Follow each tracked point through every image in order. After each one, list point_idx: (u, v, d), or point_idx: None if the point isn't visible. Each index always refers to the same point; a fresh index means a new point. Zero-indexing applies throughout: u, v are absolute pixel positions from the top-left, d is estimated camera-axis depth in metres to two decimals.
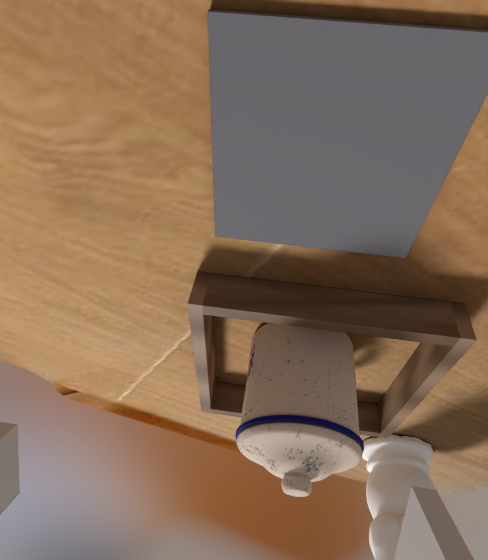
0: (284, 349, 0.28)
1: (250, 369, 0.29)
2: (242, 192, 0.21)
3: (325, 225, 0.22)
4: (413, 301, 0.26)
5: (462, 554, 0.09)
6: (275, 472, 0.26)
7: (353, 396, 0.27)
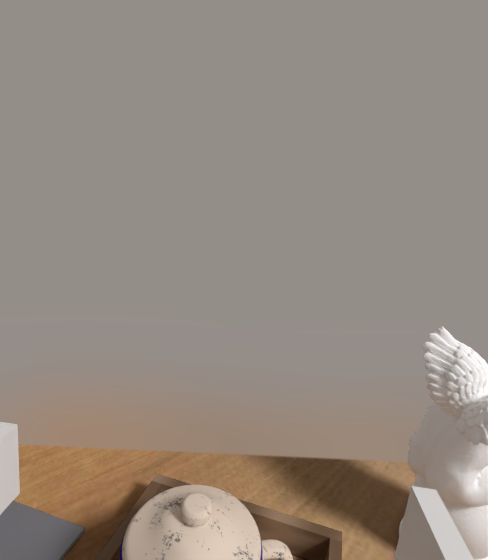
0: None
1: None
2: None
3: None
4: None
5: (462, 554, 0.09)
6: (186, 536, 0.22)
7: None
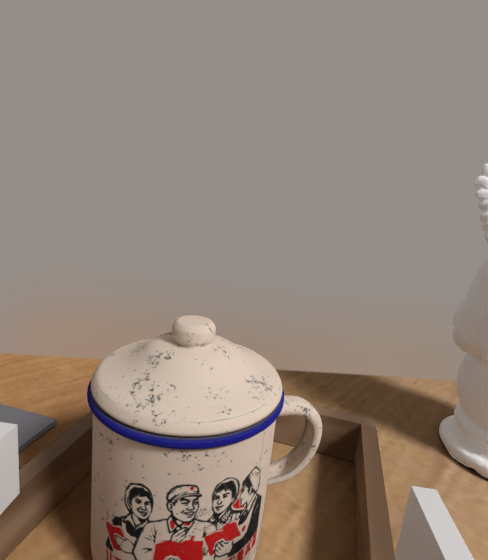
0: None
1: (112, 523, 0.15)
2: None
3: None
4: None
5: (462, 554, 0.09)
6: (180, 354, 0.16)
7: None
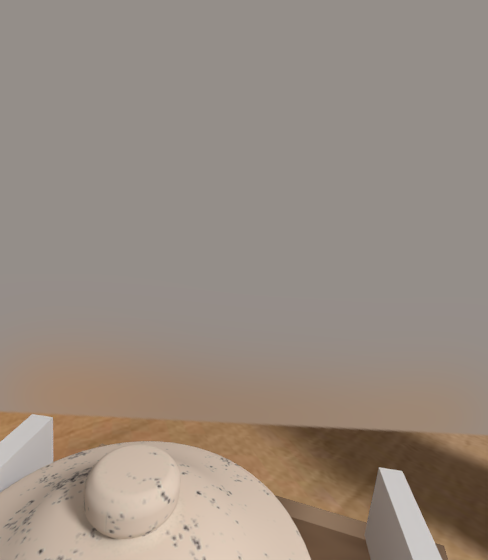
0: None
1: None
2: None
3: None
4: None
5: (419, 527, 0.10)
6: None
7: None
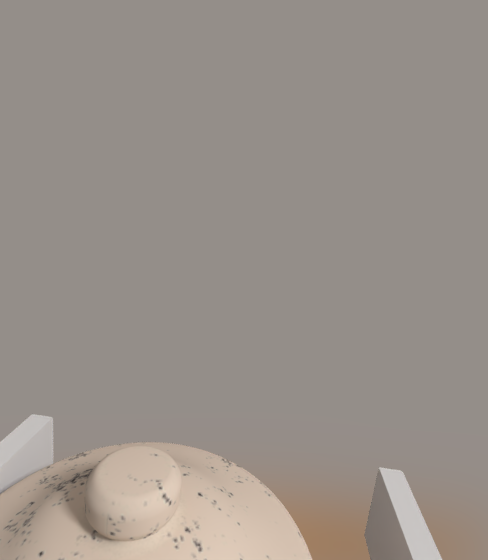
0: None
1: None
2: None
3: None
4: None
5: (419, 527, 0.10)
6: None
7: None
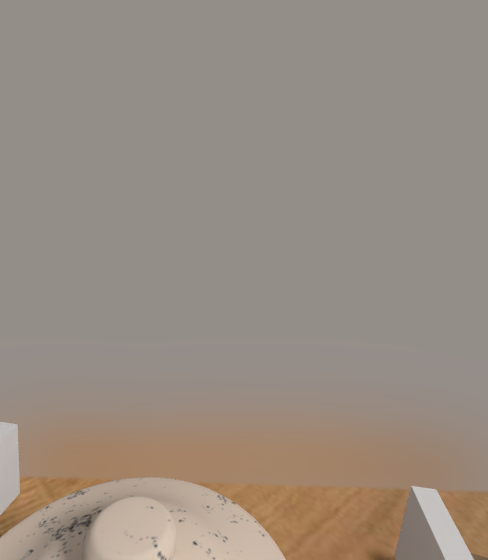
0: None
1: None
2: None
3: None
4: None
5: (462, 554, 0.09)
6: None
7: None
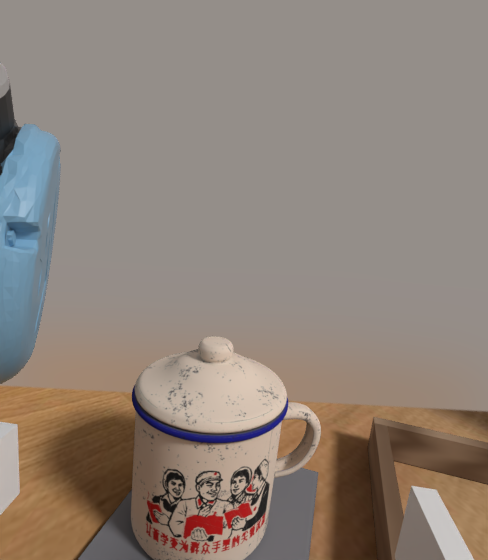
0: None
1: (151, 501, 0.20)
2: None
3: (283, 519, 0.24)
4: (370, 470, 0.29)
5: (462, 554, 0.09)
6: (205, 369, 0.20)
7: None
